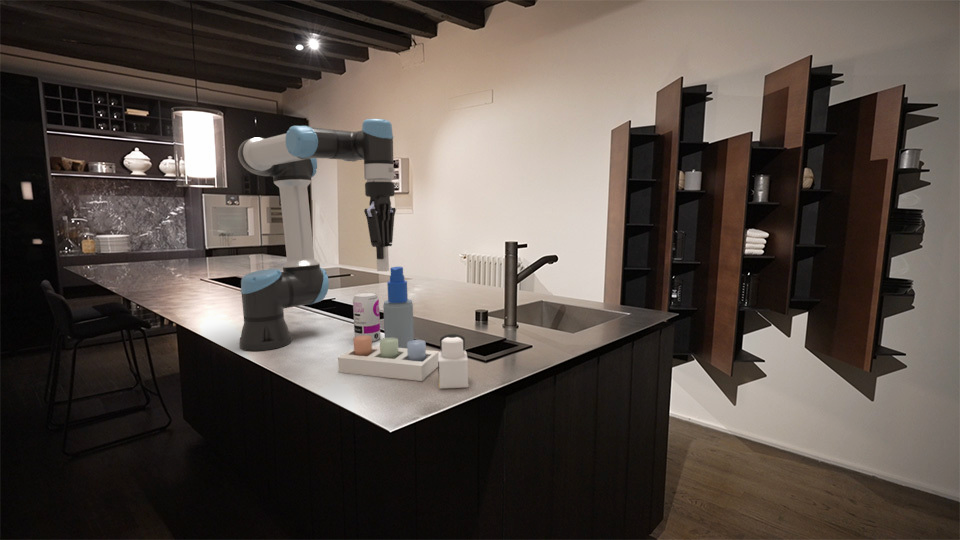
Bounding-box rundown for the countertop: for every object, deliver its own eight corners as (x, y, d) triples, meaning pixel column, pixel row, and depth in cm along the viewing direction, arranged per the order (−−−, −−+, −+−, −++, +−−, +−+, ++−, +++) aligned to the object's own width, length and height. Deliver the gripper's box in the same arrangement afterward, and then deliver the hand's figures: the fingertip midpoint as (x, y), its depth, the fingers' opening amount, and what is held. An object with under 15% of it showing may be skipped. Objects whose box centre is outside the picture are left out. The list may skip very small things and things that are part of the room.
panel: (338, 372, 128) (337, 357, 128) (362, 357, 139) (361, 344, 139) (421, 381, 121) (421, 365, 121) (439, 365, 133) (439, 351, 132)
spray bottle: (394, 342, 155) (391, 264, 151) (419, 344, 152) (416, 265, 148) (379, 350, 146) (376, 268, 143) (405, 353, 143) (403, 270, 140)
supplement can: (383, 336, 162) (381, 292, 159) (375, 343, 153) (373, 297, 151) (359, 335, 162) (357, 292, 160) (351, 342, 154) (348, 297, 152)
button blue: (404, 362, 126) (404, 344, 125) (412, 357, 131) (411, 339, 130) (421, 364, 125) (421, 345, 124) (428, 358, 129) (428, 340, 128)
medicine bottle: (438, 378, 123) (437, 332, 121) (466, 377, 124) (466, 331, 122) (438, 389, 116) (437, 340, 114) (468, 387, 117) (467, 340, 115)
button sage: (377, 360, 128) (376, 341, 128) (385, 354, 133) (385, 336, 132) (393, 361, 127) (392, 343, 126) (401, 355, 131) (401, 338, 131)
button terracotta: (350, 357, 131) (349, 339, 130) (360, 352, 135) (359, 334, 134) (366, 359, 129) (365, 341, 128) (375, 353, 134) (374, 336, 133)
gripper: (380, 180, 118) (384, 275, 122) (403, 181, 131) (406, 268, 134) (353, 180, 120) (357, 274, 124) (378, 182, 133) (382, 267, 136)
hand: (383, 270), depth 129 cm, fingers closed
